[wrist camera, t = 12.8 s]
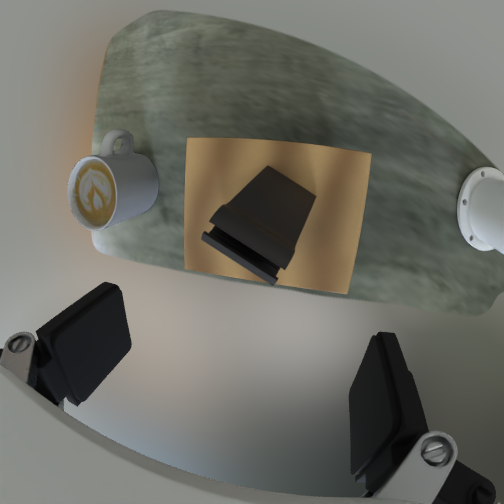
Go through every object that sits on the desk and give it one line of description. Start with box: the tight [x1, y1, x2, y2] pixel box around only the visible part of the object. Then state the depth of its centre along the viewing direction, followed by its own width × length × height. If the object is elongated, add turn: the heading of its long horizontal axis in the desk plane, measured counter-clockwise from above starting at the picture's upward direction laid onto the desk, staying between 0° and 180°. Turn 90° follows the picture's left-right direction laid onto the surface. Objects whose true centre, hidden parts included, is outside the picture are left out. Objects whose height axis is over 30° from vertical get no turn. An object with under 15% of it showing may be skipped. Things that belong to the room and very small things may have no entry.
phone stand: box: [201, 165, 317, 285], centre depth 24 cm, size 9×6×12 cm, turn 149°
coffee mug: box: [68, 129, 159, 231], centre depth 34 cm, size 13×10×10 cm
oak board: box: [184, 137, 371, 294], centre depth 30 cm, size 20×16×1 cm
